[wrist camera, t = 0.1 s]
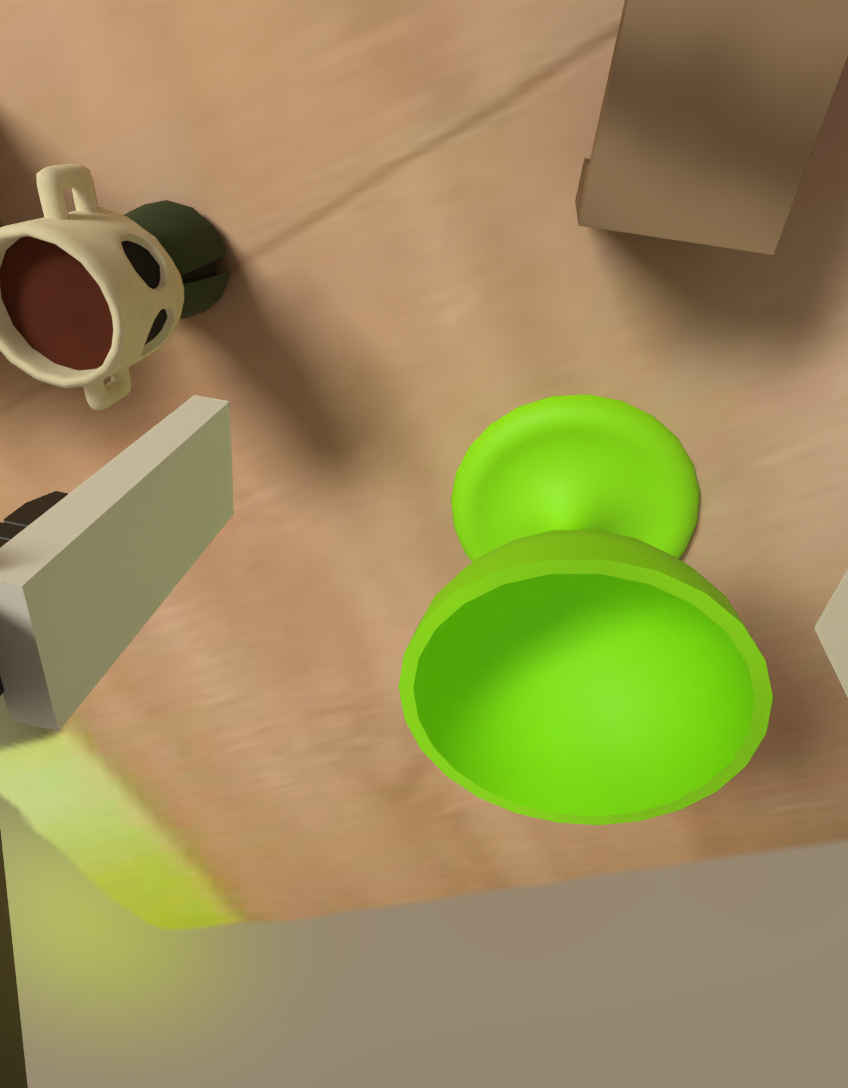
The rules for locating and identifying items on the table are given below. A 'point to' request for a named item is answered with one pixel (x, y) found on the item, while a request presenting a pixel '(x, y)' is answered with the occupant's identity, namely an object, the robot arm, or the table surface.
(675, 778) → the wineglass
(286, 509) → the table surface
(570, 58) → the table surface
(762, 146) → the shelf
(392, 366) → the table surface
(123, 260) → the character mug
